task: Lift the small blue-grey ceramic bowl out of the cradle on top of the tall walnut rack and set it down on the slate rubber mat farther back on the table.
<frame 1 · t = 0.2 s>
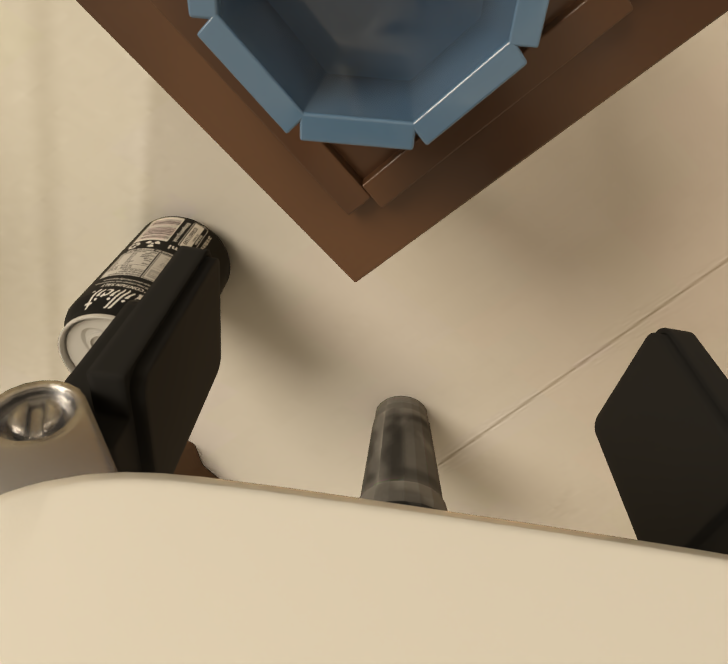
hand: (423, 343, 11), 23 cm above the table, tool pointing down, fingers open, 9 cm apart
beverage can: (188, 253, 37), on the table
beverage cup: (401, 413, 46), on the table
decorative dome: (127, 477, 53), on the table
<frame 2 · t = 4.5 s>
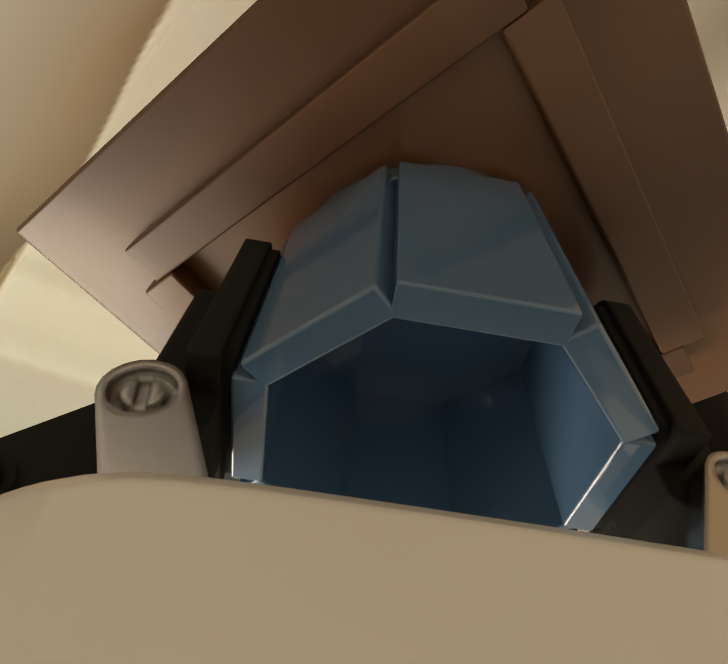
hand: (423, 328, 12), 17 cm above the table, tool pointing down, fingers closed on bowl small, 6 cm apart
beverage can: (643, 370, 34), on the table
bowl small: (421, 300, 13), point 16 cm above the table, touching gripper, rack
rack: (412, 123, 26), on the table
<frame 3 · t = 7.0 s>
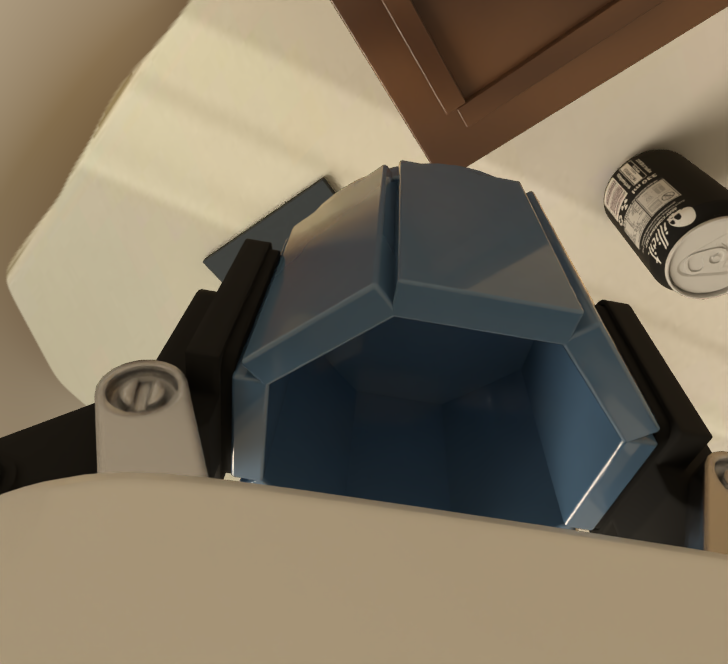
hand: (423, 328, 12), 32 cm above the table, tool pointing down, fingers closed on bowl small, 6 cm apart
beverage can: (642, 186, 42), on the table
mat: (309, 278, 48), on the table
bowl small: (422, 300, 13), point 31 cm above the table, touching gripper
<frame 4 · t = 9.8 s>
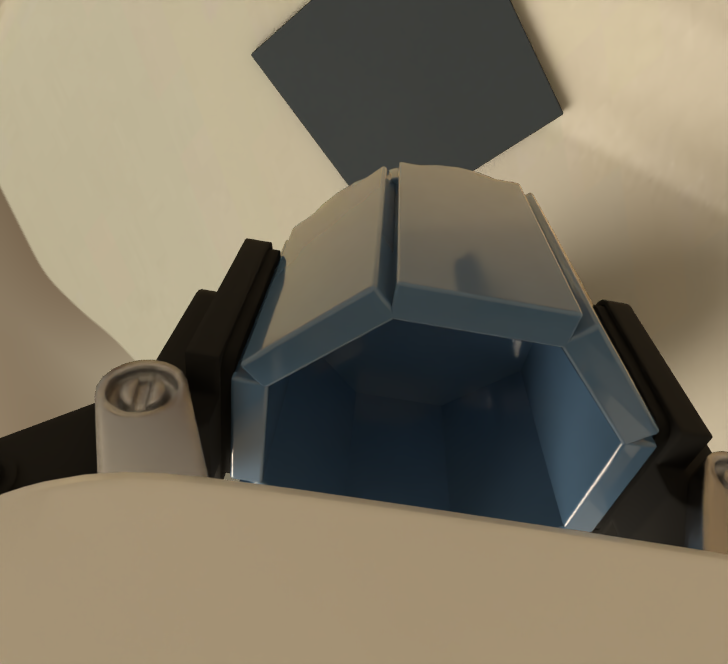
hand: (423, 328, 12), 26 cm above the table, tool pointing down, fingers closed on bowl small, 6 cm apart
mat: (409, 82, 32), on the table
bowl small: (421, 301, 13), point 25 cm above the table, touching gripper
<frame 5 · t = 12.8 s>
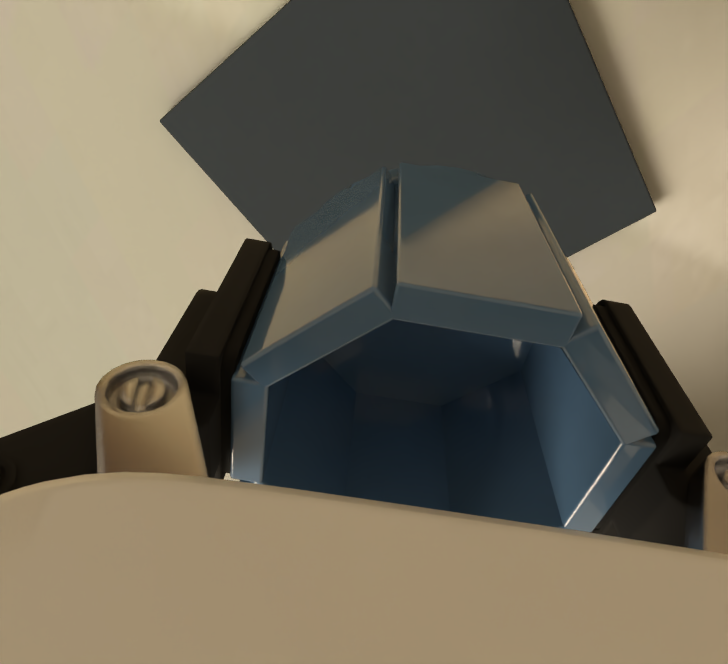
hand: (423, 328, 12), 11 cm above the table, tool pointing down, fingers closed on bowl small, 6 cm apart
mat: (413, 162, 21), on the table
bowl small: (421, 301, 13), point 10 cm above the table, touching gripper
when the fingers open (2 cm above the table, at t = 15.4 s): bowl small stays where it is, resting on mat.
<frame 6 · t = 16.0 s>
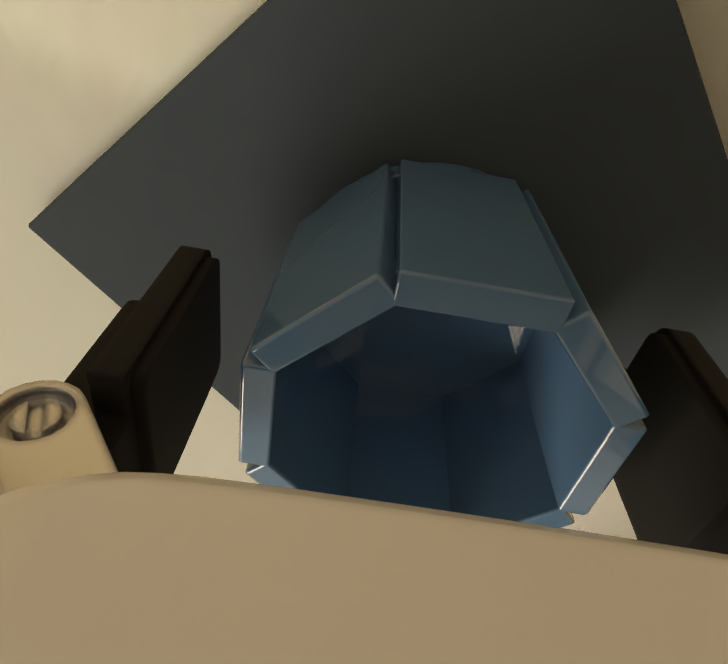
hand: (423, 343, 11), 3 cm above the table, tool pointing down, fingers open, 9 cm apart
mat: (421, 282, 14), on the table
bowl small: (422, 295, 13), point 1 cm above the table, touching mat
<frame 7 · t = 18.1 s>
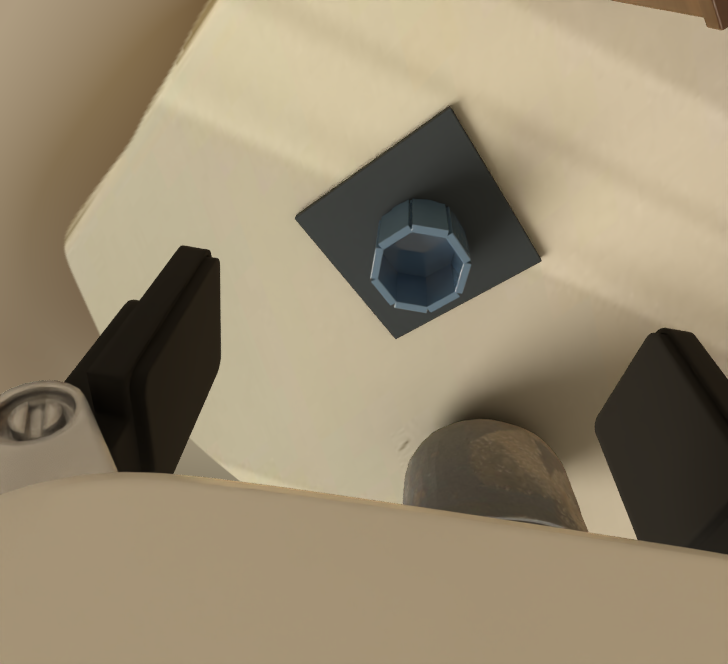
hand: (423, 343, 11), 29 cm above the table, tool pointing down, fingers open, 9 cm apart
mat: (418, 236, 41), on the table
bowl: (473, 441, 54), on the table
bowl small: (419, 240, 41), point 1 cm above the table, touching mat
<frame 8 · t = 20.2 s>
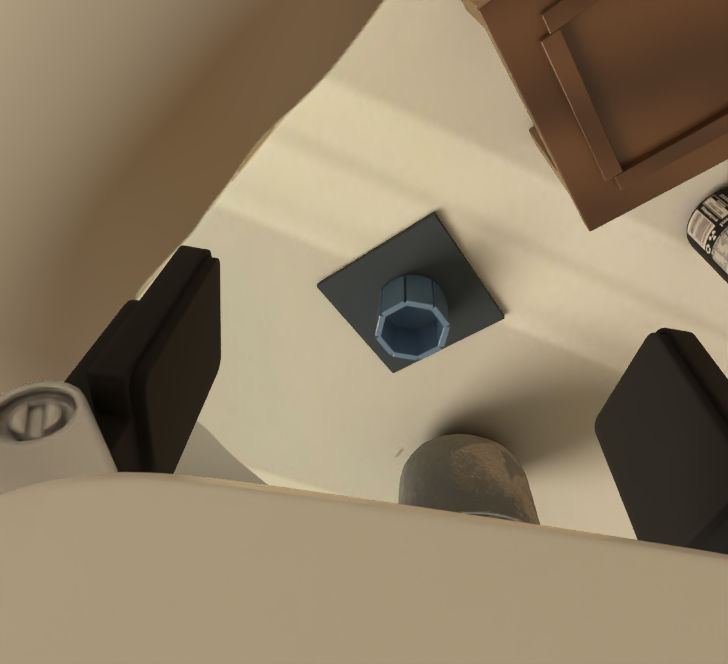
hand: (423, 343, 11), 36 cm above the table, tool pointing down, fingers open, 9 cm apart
beverage can: (721, 216, 47), on the table
mat: (411, 299, 54), on the table
bowl: (455, 450, 67), on the table
bowl small: (411, 303, 53), point 1 cm above the table, touching mat
rack: (583, 14, 38), on the table
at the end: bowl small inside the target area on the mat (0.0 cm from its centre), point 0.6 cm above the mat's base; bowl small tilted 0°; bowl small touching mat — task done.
